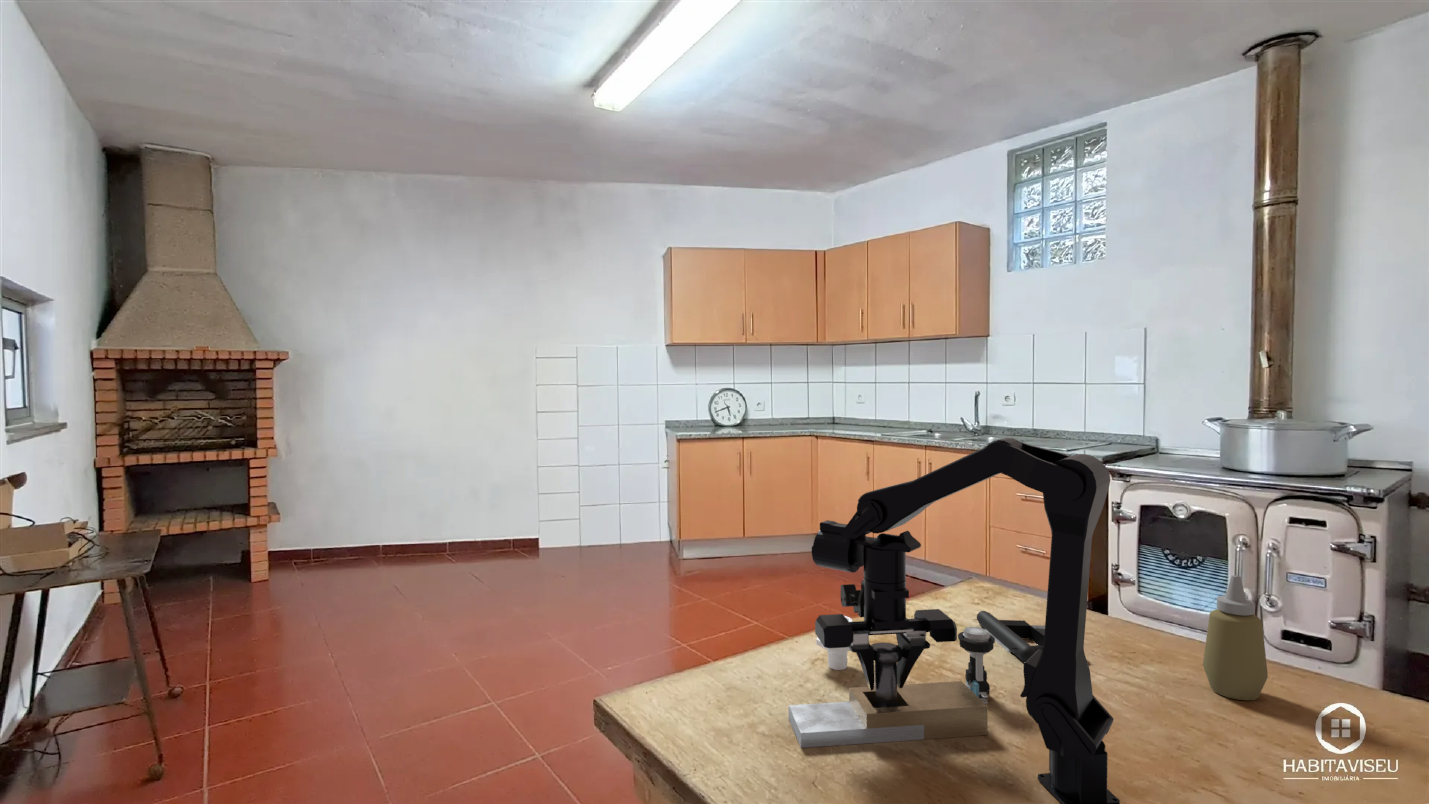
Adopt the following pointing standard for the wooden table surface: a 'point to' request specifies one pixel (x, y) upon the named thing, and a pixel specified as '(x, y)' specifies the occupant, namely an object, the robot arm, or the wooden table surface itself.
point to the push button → (977, 659)
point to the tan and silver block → (892, 716)
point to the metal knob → (886, 673)
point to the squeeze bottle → (1235, 646)
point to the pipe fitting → (836, 654)
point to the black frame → (1013, 634)
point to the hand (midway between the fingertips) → (885, 688)
